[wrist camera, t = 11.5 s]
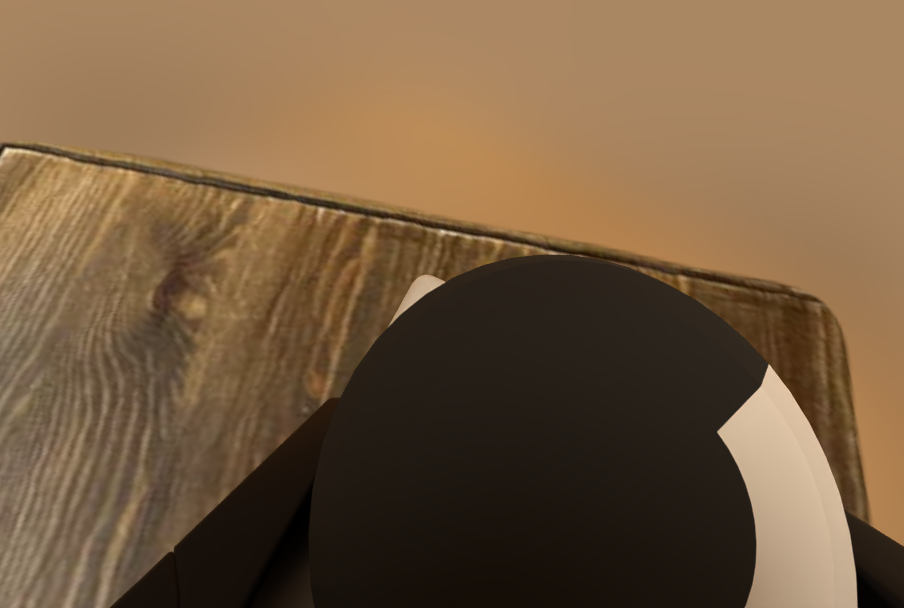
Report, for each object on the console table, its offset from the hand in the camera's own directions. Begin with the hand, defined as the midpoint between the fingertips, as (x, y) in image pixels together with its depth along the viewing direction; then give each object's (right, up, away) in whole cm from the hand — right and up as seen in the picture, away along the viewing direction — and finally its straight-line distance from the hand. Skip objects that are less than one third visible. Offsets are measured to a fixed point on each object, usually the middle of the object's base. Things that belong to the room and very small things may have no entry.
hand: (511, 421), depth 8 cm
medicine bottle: (-1, -4, +7) cm, 8 cm away
